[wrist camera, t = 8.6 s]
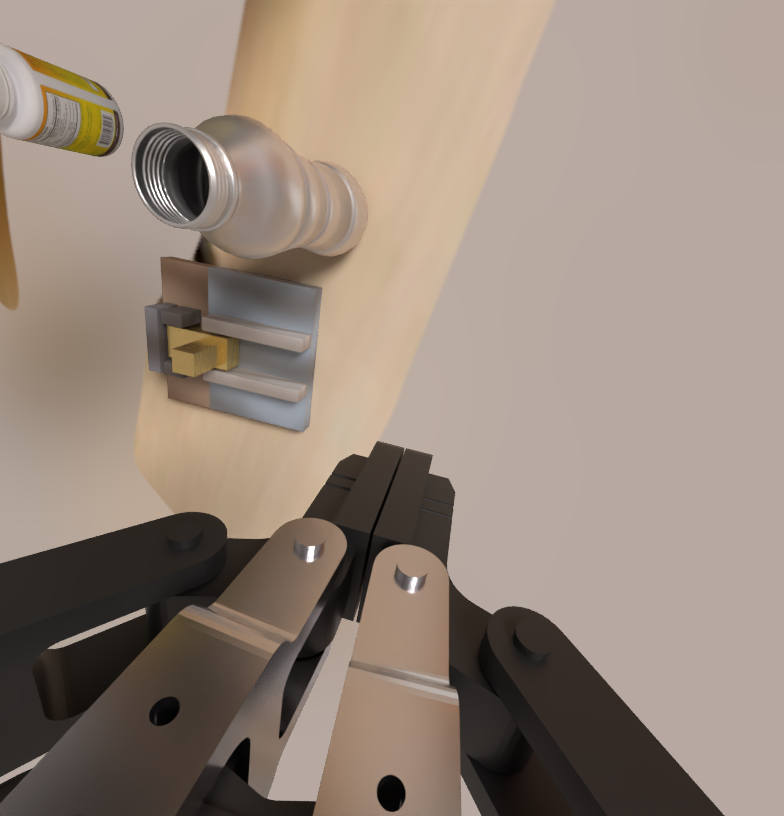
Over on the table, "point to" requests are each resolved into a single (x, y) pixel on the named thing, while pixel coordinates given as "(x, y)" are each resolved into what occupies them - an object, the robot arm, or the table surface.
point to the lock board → (240, 340)
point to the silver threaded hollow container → (246, 189)
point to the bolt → (200, 350)
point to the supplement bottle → (56, 106)
